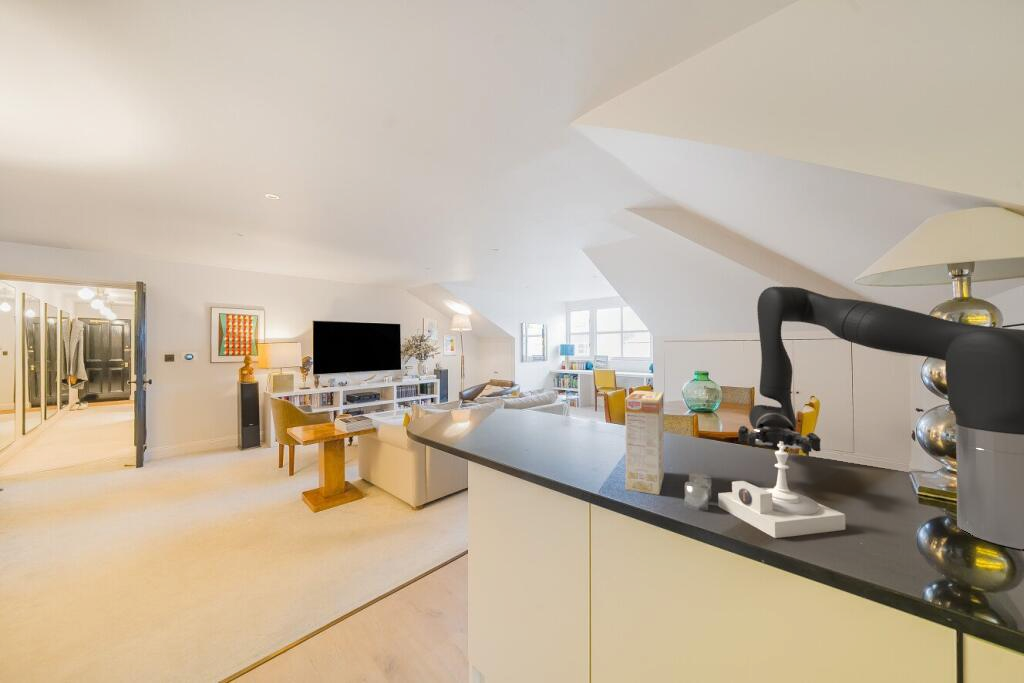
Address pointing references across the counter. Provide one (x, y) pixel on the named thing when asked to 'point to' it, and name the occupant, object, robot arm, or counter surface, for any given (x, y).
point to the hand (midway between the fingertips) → (778, 445)
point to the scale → (779, 512)
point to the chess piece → (782, 479)
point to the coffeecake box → (644, 441)
